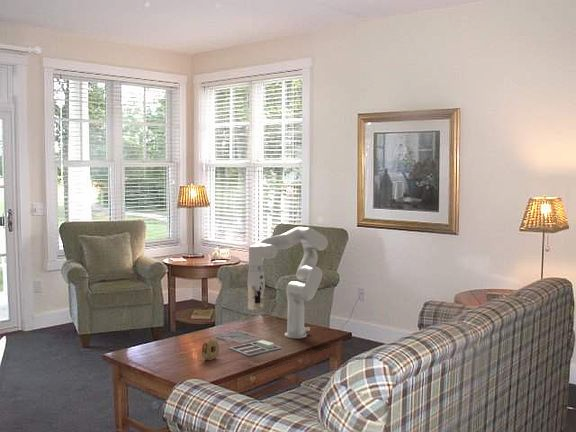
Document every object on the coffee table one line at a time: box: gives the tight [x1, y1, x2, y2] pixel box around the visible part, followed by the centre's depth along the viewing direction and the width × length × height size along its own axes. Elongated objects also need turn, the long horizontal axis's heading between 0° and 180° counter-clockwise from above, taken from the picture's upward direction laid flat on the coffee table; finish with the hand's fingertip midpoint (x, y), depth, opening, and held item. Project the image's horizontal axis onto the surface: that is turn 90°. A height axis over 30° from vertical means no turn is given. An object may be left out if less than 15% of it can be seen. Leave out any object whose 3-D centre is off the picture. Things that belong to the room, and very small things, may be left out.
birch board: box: [247, 286, 264, 311], centre depth 335 cm, size 8×3×12 cm, turn 131°
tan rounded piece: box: [201, 338, 220, 361], centre depth 314 cm, size 10×4×10 cm, turn 143°
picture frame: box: [215, 329, 264, 344], centre depth 352 cm, size 16×2×22 cm
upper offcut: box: [256, 339, 275, 350], centre depth 333 cm, size 4×9×2 cm, turn 47°
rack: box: [228, 339, 283, 358], centre depth 329 cm, size 22×17×2 cm
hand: (255, 302), depth 336 cm, fingers closed on birch board, 3 cm apart
